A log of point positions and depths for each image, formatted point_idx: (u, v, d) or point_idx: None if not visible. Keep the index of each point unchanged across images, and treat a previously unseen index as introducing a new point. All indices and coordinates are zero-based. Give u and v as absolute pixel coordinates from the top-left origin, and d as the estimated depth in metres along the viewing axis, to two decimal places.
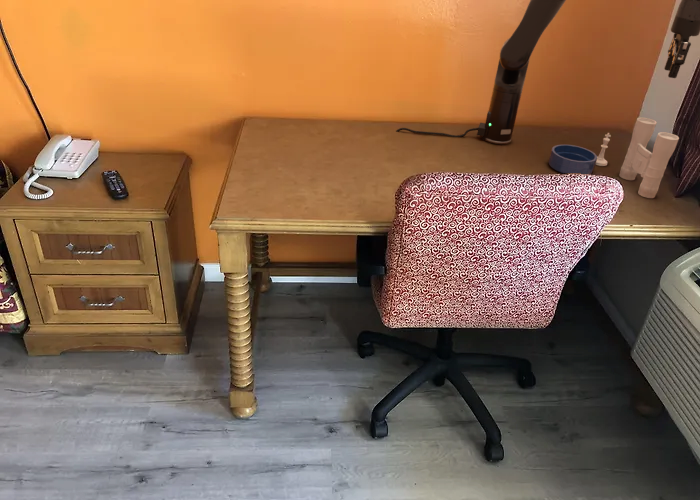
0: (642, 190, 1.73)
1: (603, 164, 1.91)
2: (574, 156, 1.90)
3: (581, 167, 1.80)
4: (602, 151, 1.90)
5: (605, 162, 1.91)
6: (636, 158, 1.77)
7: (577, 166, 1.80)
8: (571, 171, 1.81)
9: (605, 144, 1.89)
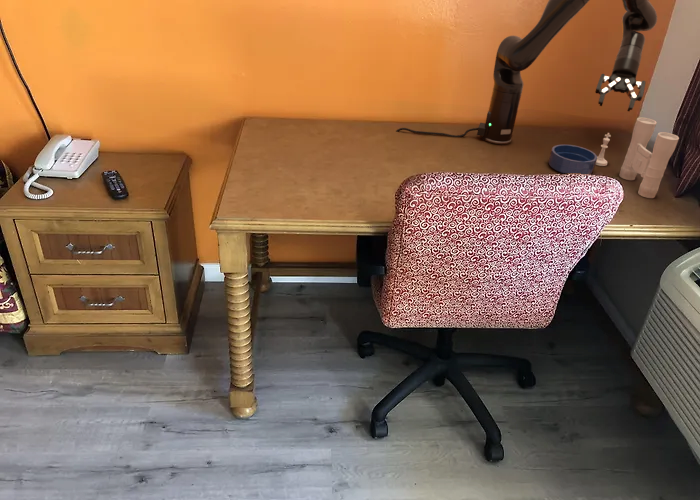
0: (642, 190, 1.73)
1: (603, 164, 1.91)
2: (574, 156, 1.90)
3: (581, 167, 1.80)
4: (602, 151, 1.90)
5: (605, 162, 1.91)
6: (636, 158, 1.77)
7: (577, 166, 1.80)
8: (571, 171, 1.81)
9: (605, 144, 1.89)
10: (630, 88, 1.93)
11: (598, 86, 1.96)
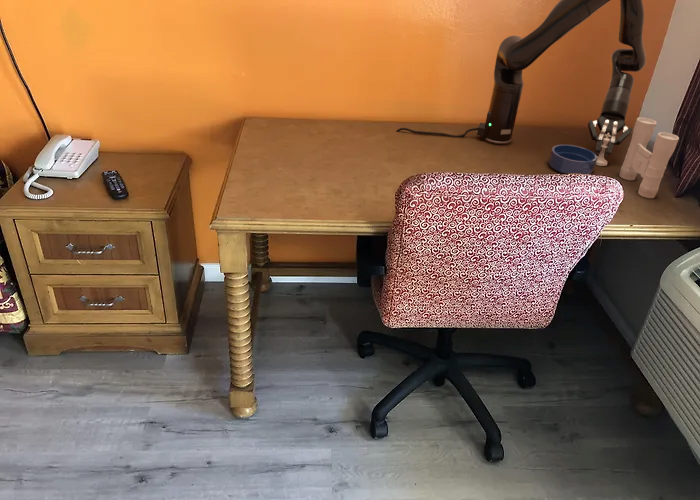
0: (642, 190, 1.73)
1: (603, 164, 1.91)
2: (574, 156, 1.90)
3: (581, 167, 1.80)
4: (602, 151, 1.90)
5: (605, 162, 1.91)
6: (636, 158, 1.77)
7: (577, 166, 1.80)
8: (571, 171, 1.81)
9: (605, 144, 1.89)
10: (613, 131, 1.88)
11: (594, 133, 1.90)
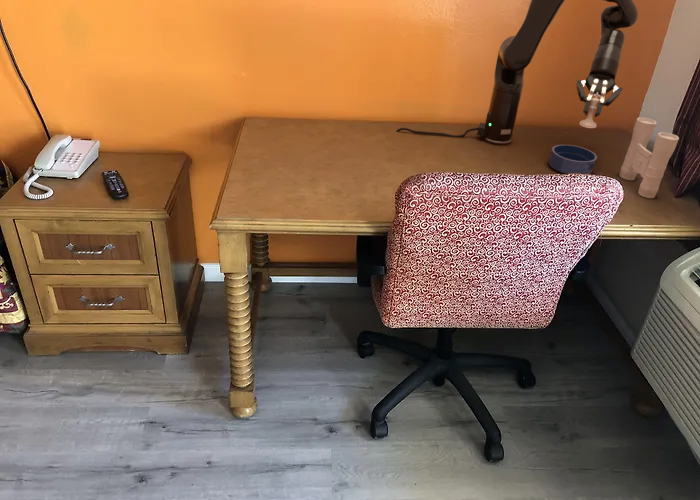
0: (642, 190, 1.73)
1: (592, 126, 1.79)
2: (574, 156, 1.90)
3: (581, 167, 1.80)
4: (591, 112, 1.79)
5: (594, 124, 1.80)
6: (636, 158, 1.77)
7: (577, 166, 1.80)
8: (571, 171, 1.81)
9: (594, 105, 1.77)
10: (603, 91, 1.77)
11: (582, 94, 1.79)
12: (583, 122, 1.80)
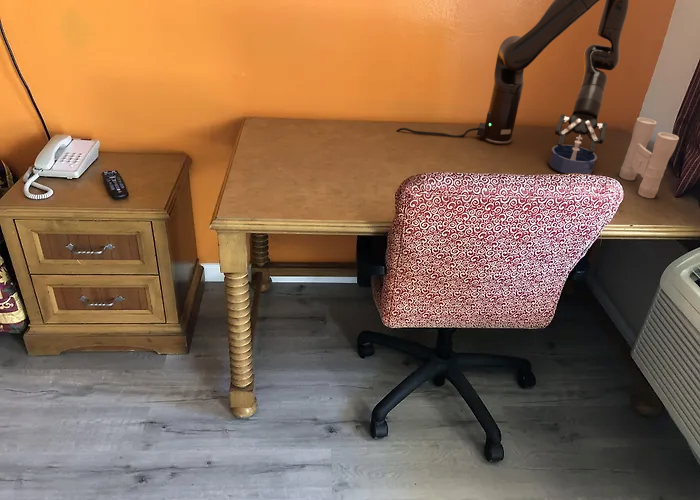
0: (642, 190, 1.73)
1: None
2: None
3: (581, 167, 1.80)
4: (574, 154, 1.85)
5: None
6: (636, 158, 1.77)
7: (577, 166, 1.80)
8: (571, 171, 1.81)
9: (576, 147, 1.83)
10: (591, 130, 1.82)
11: (557, 127, 1.85)
12: None
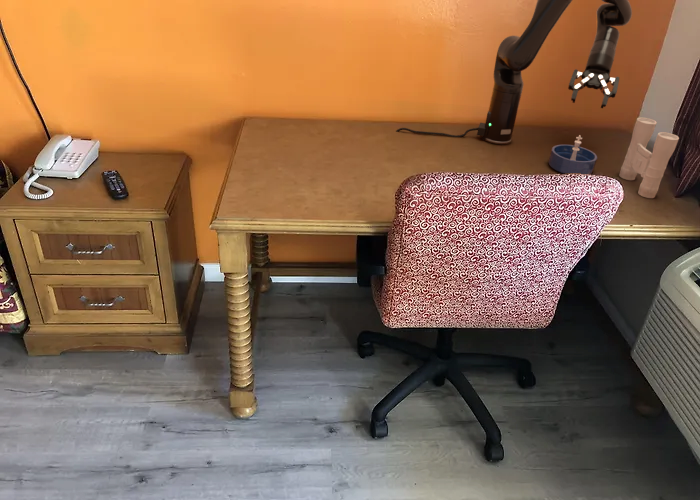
0: (642, 190, 1.73)
1: None
2: None
3: (581, 167, 1.80)
4: (574, 154, 1.85)
5: None
6: (636, 158, 1.77)
7: (577, 166, 1.80)
8: (571, 171, 1.81)
9: (576, 147, 1.83)
10: (603, 84, 1.86)
11: (571, 82, 1.89)
12: None
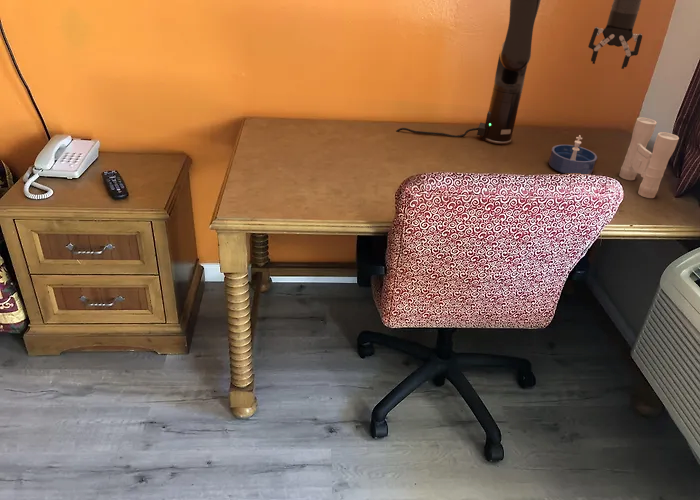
0: (642, 190, 1.73)
1: None
2: None
3: (581, 167, 1.80)
4: (574, 154, 1.85)
5: None
6: (636, 158, 1.77)
7: (577, 166, 1.80)
8: (571, 171, 1.81)
9: (576, 147, 1.83)
10: (624, 46, 1.80)
11: (590, 44, 1.83)
12: None
